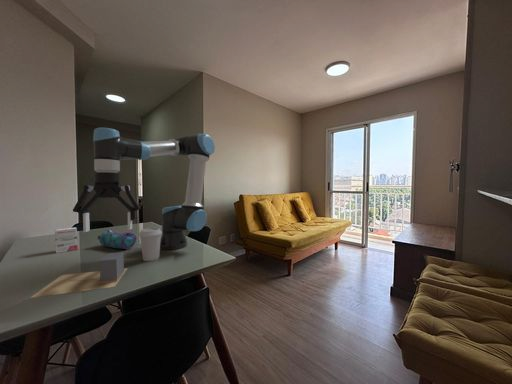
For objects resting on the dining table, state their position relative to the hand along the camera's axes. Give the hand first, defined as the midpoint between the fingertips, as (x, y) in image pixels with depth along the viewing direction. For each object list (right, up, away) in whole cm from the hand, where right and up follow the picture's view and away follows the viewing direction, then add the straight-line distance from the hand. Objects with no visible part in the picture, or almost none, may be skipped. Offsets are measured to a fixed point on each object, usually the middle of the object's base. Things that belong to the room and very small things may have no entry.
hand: (109, 230), depth 75 cm
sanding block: (+1, -18, 0) cm, 18 cm away
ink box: (-48, -18, +35) cm, 62 cm away
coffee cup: (+5, -18, +20) cm, 28 cm away
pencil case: (-24, -18, +41) cm, 51 cm away
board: (-6, -19, -2) cm, 20 cm away
